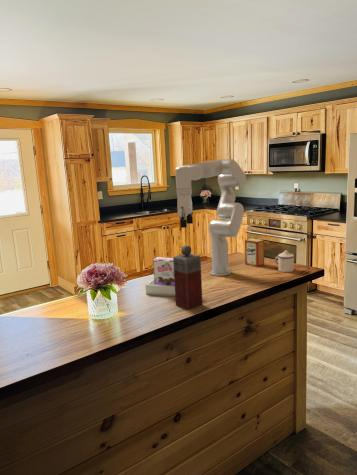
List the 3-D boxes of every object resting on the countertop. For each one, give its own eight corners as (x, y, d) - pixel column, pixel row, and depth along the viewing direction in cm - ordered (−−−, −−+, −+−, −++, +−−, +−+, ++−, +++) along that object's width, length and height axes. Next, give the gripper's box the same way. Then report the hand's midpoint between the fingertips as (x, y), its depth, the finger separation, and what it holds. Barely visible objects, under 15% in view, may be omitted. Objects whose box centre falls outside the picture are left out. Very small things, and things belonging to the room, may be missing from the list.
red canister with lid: (186, 298, 182) (183, 242, 177) (202, 304, 174) (200, 245, 168) (172, 304, 177) (168, 245, 171) (188, 310, 168) (185, 249, 163)
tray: (155, 286, 203) (154, 277, 202) (190, 288, 196) (190, 279, 195) (146, 294, 192) (145, 284, 191) (183, 296, 185) (183, 287, 184)
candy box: (154, 290, 194) (152, 259, 191) (160, 286, 200) (158, 256, 196) (178, 292, 188) (176, 260, 185) (183, 289, 193) (182, 257, 190)
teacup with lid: (297, 269, 219) (297, 250, 217) (288, 273, 213) (288, 253, 211) (279, 266, 228) (279, 247, 226) (270, 269, 222) (270, 250, 220)
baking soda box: (245, 264, 237) (244, 239, 233) (251, 262, 241) (251, 237, 238) (257, 267, 229) (257, 241, 226) (264, 264, 234) (264, 239, 231)
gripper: (182, 190, 197) (185, 222, 201) (171, 194, 182) (173, 229, 186) (196, 189, 195) (198, 222, 199) (185, 193, 179) (188, 229, 183)
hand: (186, 225), depth 192 cm, fingers open, 9 cm apart
